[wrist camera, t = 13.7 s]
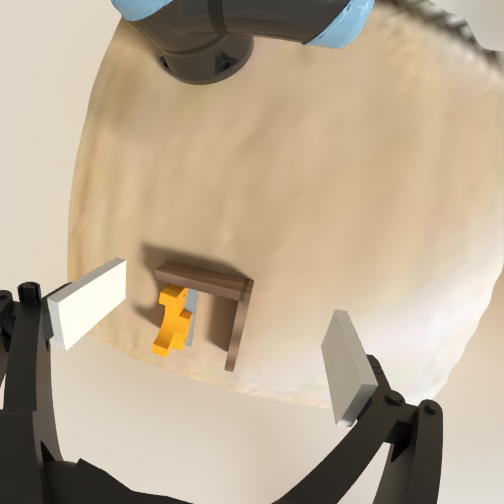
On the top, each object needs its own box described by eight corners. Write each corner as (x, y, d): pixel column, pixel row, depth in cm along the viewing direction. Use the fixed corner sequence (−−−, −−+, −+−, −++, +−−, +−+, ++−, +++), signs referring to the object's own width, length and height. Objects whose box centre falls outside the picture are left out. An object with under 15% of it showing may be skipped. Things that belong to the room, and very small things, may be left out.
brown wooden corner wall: (167, 260, 44) (155, 270, 40) (254, 281, 44) (250, 293, 39) (162, 334, 49) (151, 349, 44) (237, 355, 48) (233, 372, 43)
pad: (171, 277, 45) (170, 277, 45) (199, 284, 45) (198, 284, 45) (166, 338, 49) (166, 339, 48) (191, 345, 49) (190, 346, 48)
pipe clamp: (186, 341, 48) (175, 361, 42) (165, 333, 48) (151, 352, 42) (199, 285, 45) (187, 302, 38) (175, 277, 45) (160, 292, 38)
